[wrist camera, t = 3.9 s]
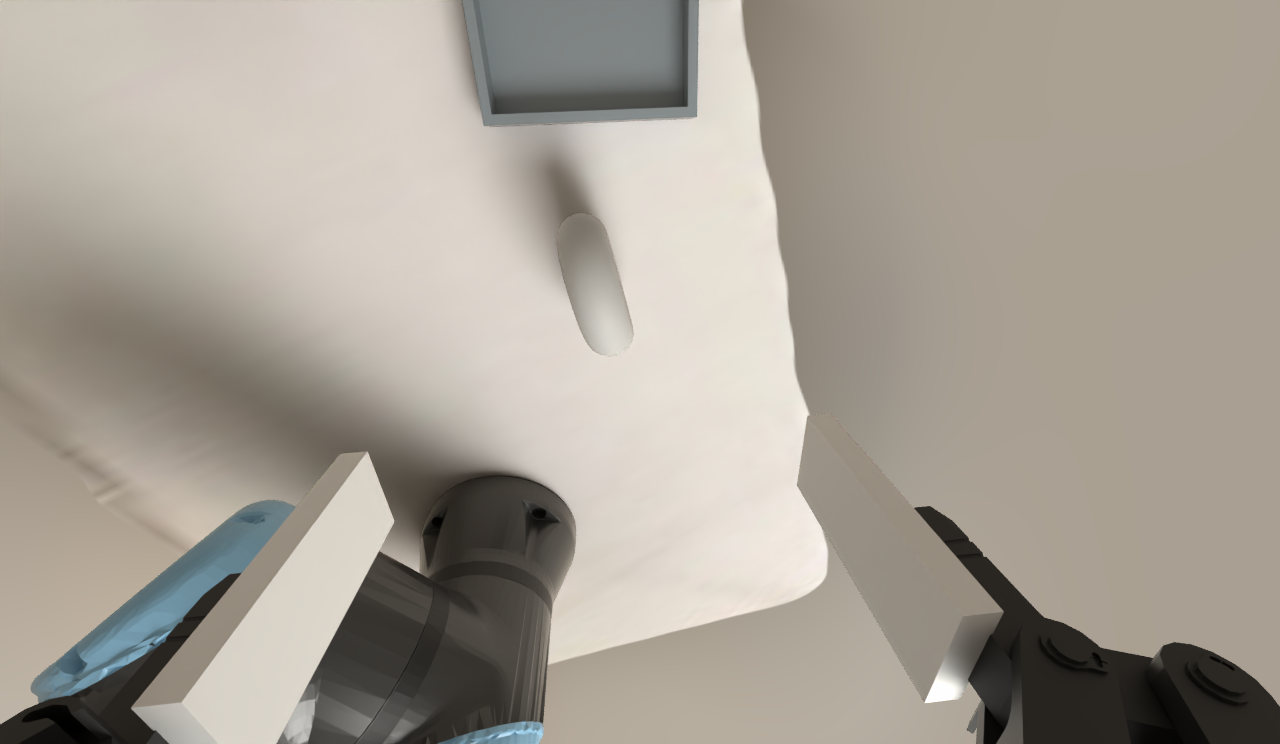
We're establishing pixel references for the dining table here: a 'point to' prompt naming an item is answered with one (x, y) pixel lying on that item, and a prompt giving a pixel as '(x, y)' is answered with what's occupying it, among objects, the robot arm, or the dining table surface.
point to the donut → (594, 284)
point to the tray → (583, 60)
